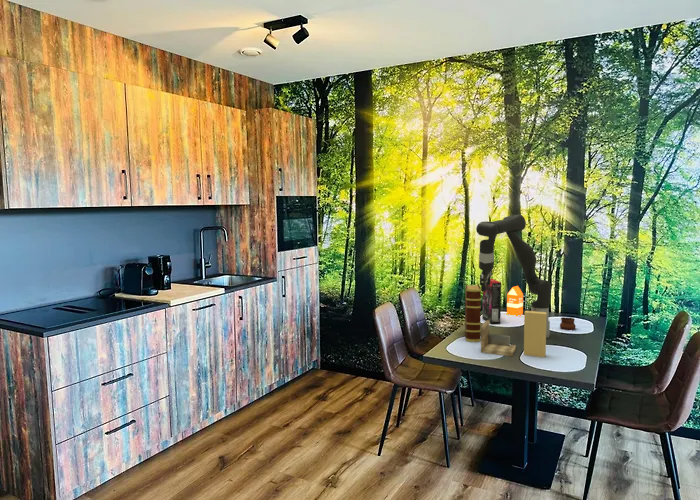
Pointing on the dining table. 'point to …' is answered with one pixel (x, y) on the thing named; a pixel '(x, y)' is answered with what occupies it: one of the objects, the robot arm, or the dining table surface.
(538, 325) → the book
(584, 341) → the dining table surface
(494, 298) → the graphics card box
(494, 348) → the wooden l-shaped piece
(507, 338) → the grey flat panel
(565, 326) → the ceramic pot
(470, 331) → the decorative book
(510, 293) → the orange juice
